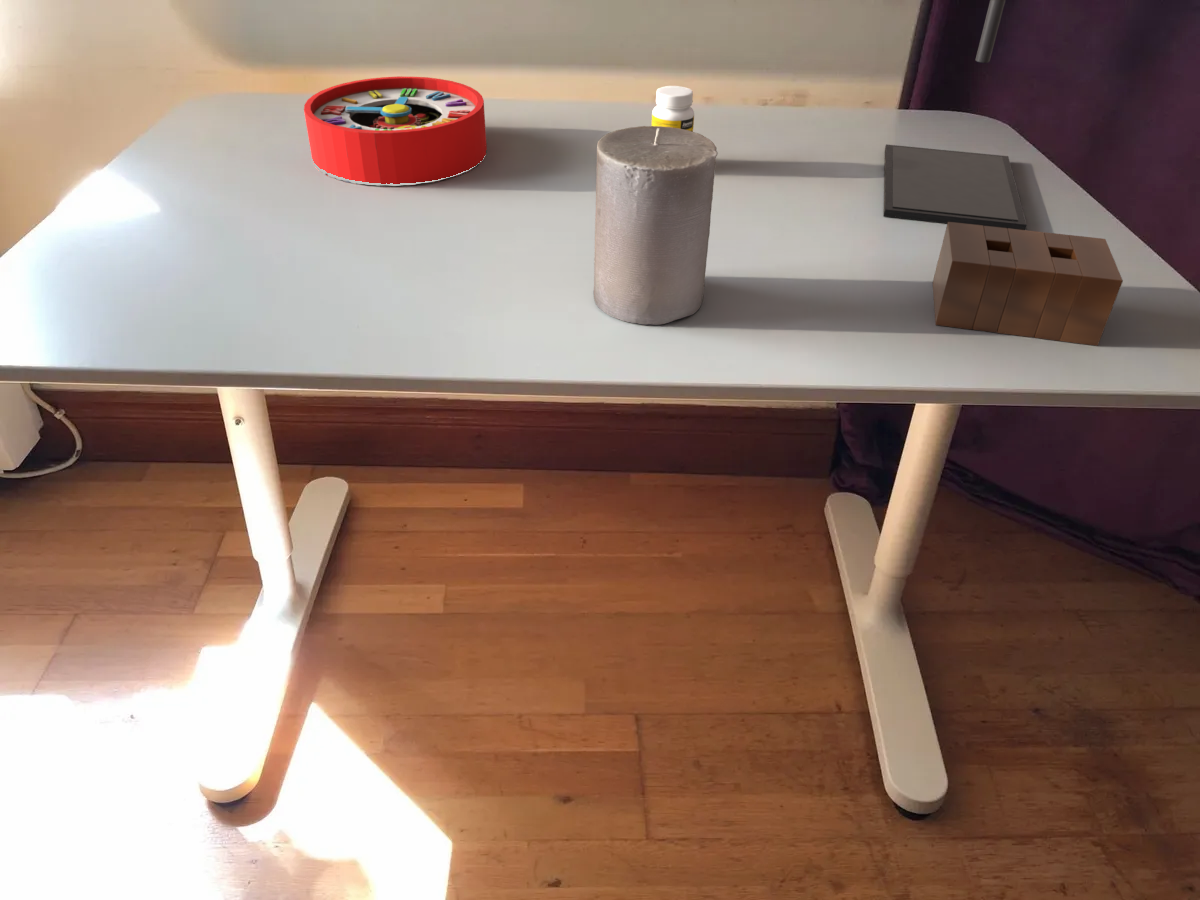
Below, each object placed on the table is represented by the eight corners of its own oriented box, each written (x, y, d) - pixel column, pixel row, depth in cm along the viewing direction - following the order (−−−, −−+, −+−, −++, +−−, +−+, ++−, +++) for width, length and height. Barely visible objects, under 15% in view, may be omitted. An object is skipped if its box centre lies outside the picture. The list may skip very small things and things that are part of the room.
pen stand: (1082, 301, 85) (1105, 238, 81) (1097, 346, 79) (1123, 280, 75) (932, 282, 87) (947, 221, 84) (935, 325, 81) (952, 260, 78)
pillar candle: (604, 269, 88) (607, 105, 79) (709, 279, 87) (724, 114, 78) (583, 320, 81) (584, 145, 72) (698, 332, 80) (713, 156, 70)
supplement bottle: (682, 176, 107) (687, 99, 102) (643, 169, 108) (646, 93, 103) (696, 162, 111) (701, 87, 105) (658, 155, 112) (661, 81, 107)
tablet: (1006, 162, 112) (1008, 155, 111) (1024, 232, 96) (1027, 223, 96) (884, 150, 114) (885, 143, 114) (883, 216, 99) (884, 208, 98)
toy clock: (469, 135, 99) (279, 129, 100) (473, 189, 103) (290, 183, 104) (494, 78, 115) (330, 74, 116) (497, 127, 119) (338, 122, 119)
